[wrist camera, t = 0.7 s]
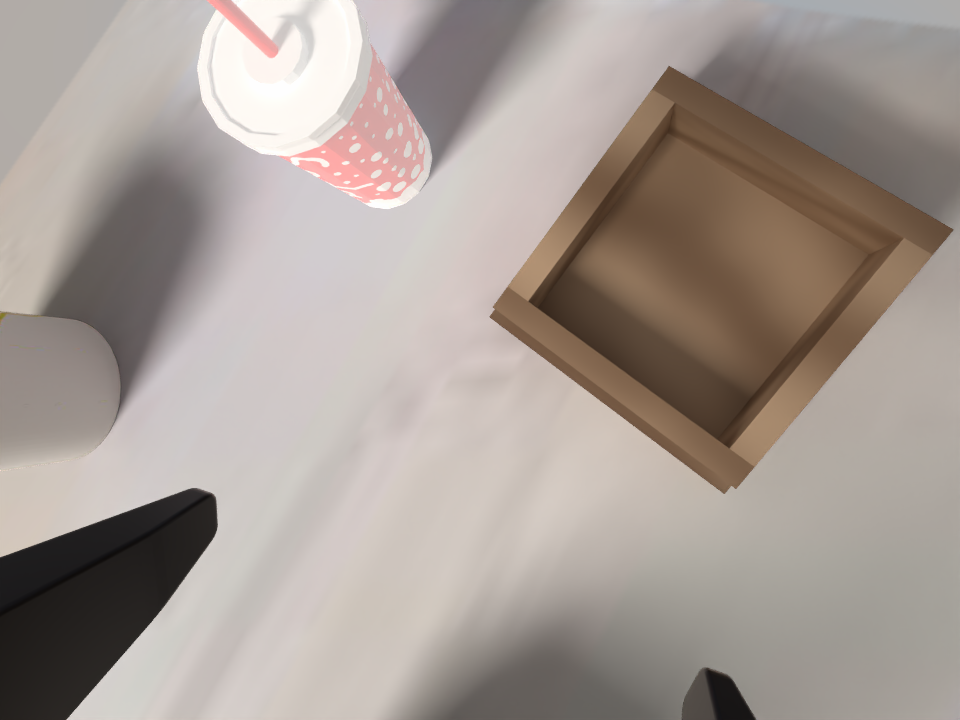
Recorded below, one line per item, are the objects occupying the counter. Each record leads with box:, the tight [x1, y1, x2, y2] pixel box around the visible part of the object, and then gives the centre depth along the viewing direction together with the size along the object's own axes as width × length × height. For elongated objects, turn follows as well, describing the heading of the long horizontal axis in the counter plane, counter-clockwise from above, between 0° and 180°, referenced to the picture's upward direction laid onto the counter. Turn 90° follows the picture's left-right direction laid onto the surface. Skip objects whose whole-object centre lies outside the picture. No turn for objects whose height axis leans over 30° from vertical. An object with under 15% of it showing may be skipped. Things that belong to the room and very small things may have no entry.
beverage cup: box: [197, 0, 432, 209], centre depth 19 cm, size 6×6×14 cm
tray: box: [490, 66, 953, 494], centre depth 21 cm, size 12×12×4 cm
